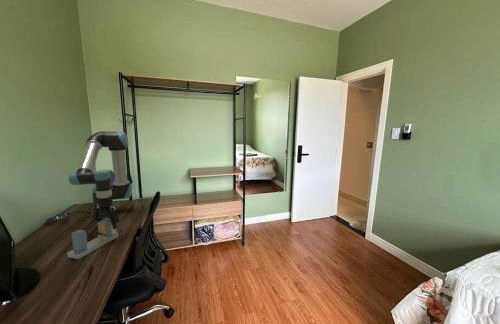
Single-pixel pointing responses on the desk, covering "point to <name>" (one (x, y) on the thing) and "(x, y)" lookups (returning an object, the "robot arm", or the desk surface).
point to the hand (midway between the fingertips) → (107, 232)
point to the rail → (87, 243)
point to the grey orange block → (106, 227)
